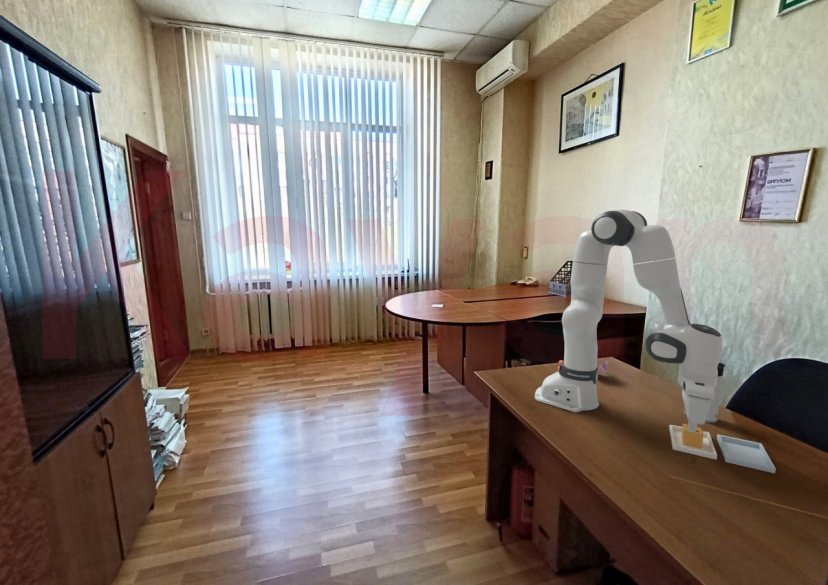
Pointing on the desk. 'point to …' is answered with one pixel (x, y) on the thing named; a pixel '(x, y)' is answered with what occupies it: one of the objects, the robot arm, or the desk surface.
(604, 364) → the lily
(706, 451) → the tray white
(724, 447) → the tray bluegrey
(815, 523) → the desk surface
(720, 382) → the travel mug
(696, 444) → the letter cube
